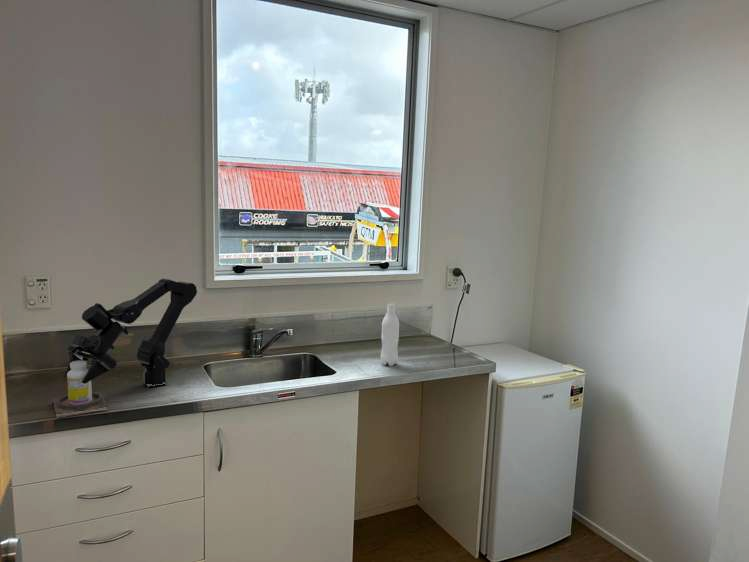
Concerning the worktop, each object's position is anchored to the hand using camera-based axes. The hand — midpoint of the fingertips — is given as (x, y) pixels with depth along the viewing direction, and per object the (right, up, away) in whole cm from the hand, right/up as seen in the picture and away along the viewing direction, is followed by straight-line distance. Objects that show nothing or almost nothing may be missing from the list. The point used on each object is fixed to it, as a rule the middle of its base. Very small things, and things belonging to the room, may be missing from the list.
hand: (74, 380), depth 180 cm
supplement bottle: (+1, -8, +2) cm, 8 cm away
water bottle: (+98, -4, +59) cm, 115 cm away
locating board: (0, -9, +2) cm, 9 cm away
